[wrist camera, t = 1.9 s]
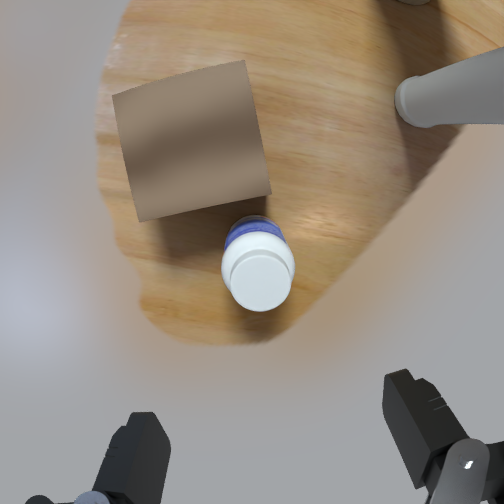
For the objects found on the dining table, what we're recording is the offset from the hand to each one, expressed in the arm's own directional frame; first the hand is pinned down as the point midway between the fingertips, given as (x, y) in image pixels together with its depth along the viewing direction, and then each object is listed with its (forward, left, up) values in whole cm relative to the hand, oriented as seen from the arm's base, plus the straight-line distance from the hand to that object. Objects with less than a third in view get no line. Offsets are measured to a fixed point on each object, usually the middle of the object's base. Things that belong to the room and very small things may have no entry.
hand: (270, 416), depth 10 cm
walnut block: (-10, -3, -21) cm, 23 cm away
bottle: (-11, +18, -21) cm, 30 cm away
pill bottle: (0, 0, -21) cm, 21 cm away
